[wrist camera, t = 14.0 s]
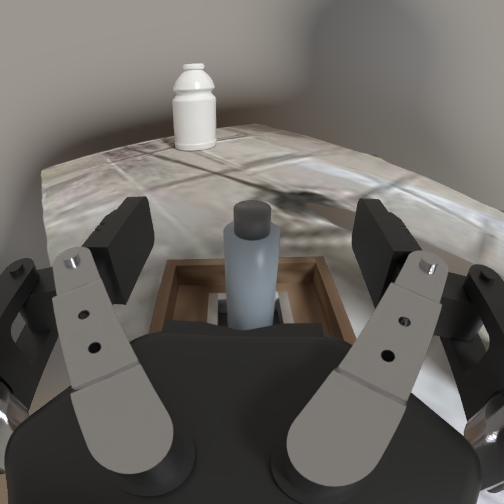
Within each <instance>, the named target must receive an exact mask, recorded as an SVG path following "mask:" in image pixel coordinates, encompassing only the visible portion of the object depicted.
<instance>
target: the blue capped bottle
mask: <svg viewBox="0 0 504 504" xmlns="http://www.w3.org/2000/svg"><path fill="white" fill-rule="evenodd" d="M279 244H280V229H279V228H278V227H277V226H276V225H275V224H274V223H272V222H271V207H270V205H268V204H267V203H265V202H262V201H256V200H248V201H242V202H239V203H237V204H236V205H235V206H234V221H233V222H231V223H229V224H228V225H227V226H226V227H225V229H224V256H225V279H226V301H227V320H228V328H231V329H236V330H250V329H255V328H261V327H266V326H271V325H273V317H274V305H275V294H276V282H277V270H278V257H279Z"/></svg>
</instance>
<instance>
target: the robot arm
mask: <svg viewBox="0 0 504 504" xmlns="http://www.w3.org/2000/svg"><path fill="white" fill-rule="evenodd" d="M153 245H154V230H153V224H152V219H151V213H150V207H149V202H148V199H147V197H145V196H142V197H127V198H126V199H125V200H124V201H123V203H122V204H121V205H120V206H119V207H118V209H117V210H114V211H113V212H111V213H110V214H108V215H107V216H105V218H104V219H103V220H102V221H101V222H100V225H98V226H97V227H96V229H95V231H93V232H92V234H91V235H90V236H89V238H88V239H87V240H86V241H85V243H84V244H83V245H82V247H75V248H71V249H68V250H66V251H64V252H63V253H61V254H60V255H59V256H57V257H56V259H55V260H54V262H53V267H50V268H46V269H41V270H37V269H36V267H35V264H34V262H33V260H32V259H29V258H25V259H20V260H17V261H15V262H13V263H12V264H10V265H9V266H8V267H7V268H6V269H5V270H4V272H3V273H2V274H1V275H0V474H4V473H5V474H6V480H7V489H8V504H476V503H477V499H478V496H479V494H480V493H482V492H485V491H488V492H490V493H497V492H500V491H502V490H504V282H503V280H502V279H501V277H500V276H499V275H498V274H497V273H496V272H495V271H494V270H492V269H491V268H489V267H487V266H484V265H479V264H477V265H473V266H471V267H470V269H469V272H468V274H467V276H463V275H458V274H454V273H450V272H448V266H447V264H446V263H445V262H444V261H443V260H442V259H441V258H440V257H439V256H437V255H435V254H433V253H430V252H427V251H422V249H421V248H420V246H419V245H418V243H417V242H416V241H415V239H414V237H413V236H412V235H411V233H410V232H409V230H408V229H407V228H406V226H405V225H404V223H403V222H402V220H401V219H400V218H398V217H397V216H395V215H394V214H393V213H391V212H388V211H387V209H386V208H385V207H384V205H383V204H382V202H381V201H380V200H379V199H364V198H360V199H359V201H358V204H357V210H356V216H355V222H354V227H353V232H352V249H353V252H354V254H355V257H356V259H357V262H358V264H359V267H360V269H361V272H362V275H363V277H364V280H365V282H366V285H367V288H368V290H369V293H370V296H371V299H372V301H373V304H374V307H375V311H374V313H373V314H372V316H371V317H370V319H369V321H368V322H367V324H366V326H365V327H364V329H363V330H362V332H361V334H360V335H359V337H358V338H357V340H356V341H355V343H354V344H353V345H352V344H350V343H348V342H346V341H344V340H341V339H339V338H336V337H332V336H329V335H324V334H323V330H322V325H321V323H281V324H276V325H271V326H266V327H261V328H255V329H250V330H236V329H231V328H227V327H223V326H219V325H215V324H210V323H206V322H202V321H182V320H165V323H164V327H163V330H162V331H158V332H154V333H150V334H147V335H144V336H141V337H139V338H137V339H134V340H133V341H131V342H129V341H128V339H127V337H126V335H125V332H124V330H123V328H122V326H121V324H120V322H119V319H118V317H117V315H116V313H115V310H114V308H113V304H124V305H126V303H127V301H128V299H129V297H130V294H131V292H132V290H133V288H134V286H135V284H136V281H137V279H138V277H139V275H140V273H141V271H142V269H143V266H144V264H145V262H146V260H147V258H148V256H149V254H150V252H151V250H152V248H153ZM19 312H20V314H21V316H22V317H23V319H24V321H25V322H26V324H25V326H24V328H23V330H22V332H21V334H20V336H19V338H18V339H17V342H16V343H15V342H14V341H13V339H12V337H11V325H12V323H13V321H14V320H15V318H16V316H17V314H18V313H19ZM483 324H484V326H485V328H486V330H487V332H488V334H489V338H490V342H489V343H488V345H487V346H486V348H484V346H483V343H482V341H481V339H480V337H479V335H478V332H479V330H480V328H481V327H482V325H483ZM433 335H437V336H440V339H441V341H442V344H443V347H444V349H445V352H446V355H447V358H448V361H449V363H450V366H451V369H452V372H453V375H454V378H455V381H456V384H457V388H458V391H459V394H460V397H461V401H462V404H463V408H464V411H465V415H466V419H467V424H466V426H465V430H464V436H463V435H462V434H460V433H459V432H458V431H457V430H456V429H454V428H453V427H452V426H451V425H450V424H448V423H447V422H446V421H445V420H444V419H442V418H441V417H440V416H439V415H438V414H436V413H435V412H434V411H433V410H432V409H430V408H429V407H428V406H427V405H426V404H424V403H423V402H422V401H421V400H420V399H418V398H417V397H416V396H415V395H414V394H412V393H411V390H412V388H413V386H414V383H415V381H416V379H417V376H418V374H419V371H420V369H421V366H422V364H423V361H424V358H425V356H426V353H427V350H428V348H429V345H430V342H431V339H432V336H433ZM58 336H59V338H60V343H61V347H62V351H63V355H64V360H65V363H66V367H67V371H68V375H69V378H70V382H71V386H69V387H68V388H67V389H65V390H64V391H63V392H61V393H60V394H59V395H57V396H56V397H55V398H53V399H52V400H51V401H49V402H48V403H47V404H45V405H44V406H43V407H41V408H40V409H39V410H37V411H36V412H35V413H33V414H32V415H31V416H29V413H28V411H29V408H30V405H31V403H32V400H33V397H34V394H35V392H36V389H37V386H38V383H39V381H40V379H41V376H42V373H43V371H44V368H45V366H46V364H47V361H48V359H49V357H50V354H51V352H52V350H53V347H54V345H55V343H56V341H57V338H58Z"/></svg>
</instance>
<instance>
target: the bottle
mask: <svg viewBox="0 0 504 504" xmlns="http://www.w3.org/2000/svg"><path fill="white" fill-rule="evenodd" d="M202 69H204V64H186V65H183V70H185V72H183V73H182V74H181V75H180V76H179V78H178V79H177V80H176V82H175V85H174V88H173V91H174V92H175V93H176V97H175V98H174V99H173V101H172V103H173V115H174V117H173V118H174V133H175V134H174V135H175V141H174V142H175V147H176V149H178V150H183V151H198V150H205V149H209V148H212V147H214V146H215V145H216V142H217V139H216V97H215V96H214V95H213V94H212V90H213V89H214V88H215V86H214V83H213V81H212V79H211V78H210V76H209V75H208V74H207V73H206V72H204V71H203V70H202Z"/></svg>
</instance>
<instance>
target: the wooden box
mask: <svg viewBox="0 0 504 504" xmlns="http://www.w3.org/2000/svg"><path fill="white" fill-rule="evenodd" d="M165 320H182V321H202V322H206V323H210V324H215V325H219V326H223V327H227V328H228V320H227V301H226V279H225V259H190V260H167V263H166V267H165V271H164V274H163V278H162V282H161V286H160V290H159V293H158V297H157V301H156V305H155V310H154V314H153V318H152V322H151V326H150V331H149V334H150V333H154V332H158V331H162V330H163V327H164V323H165ZM281 323H321V325H322V330H323V334H324V335H329V336H332V337H336V338H339V339H341V340H344V341H346V342H348V343H350V344H352V345H353V344H354V343H355V341H356V337H355V334H354V332H353V329H352V326H351V324H350V321H349V319H348V316H347V314H346V311H345V309H344V306H343V304H342V301H341V299H340V296H339V294H338V291H337V289H336V286H335V284H334V281H333V279H332V277H331V274H330V272H329V270H328V267H327V265H326V262H325V260H324V258H323V256H322V257H282V258H278V270H277V282H276V294H275V305H274V317H273V325H276V324H281Z"/></svg>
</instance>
